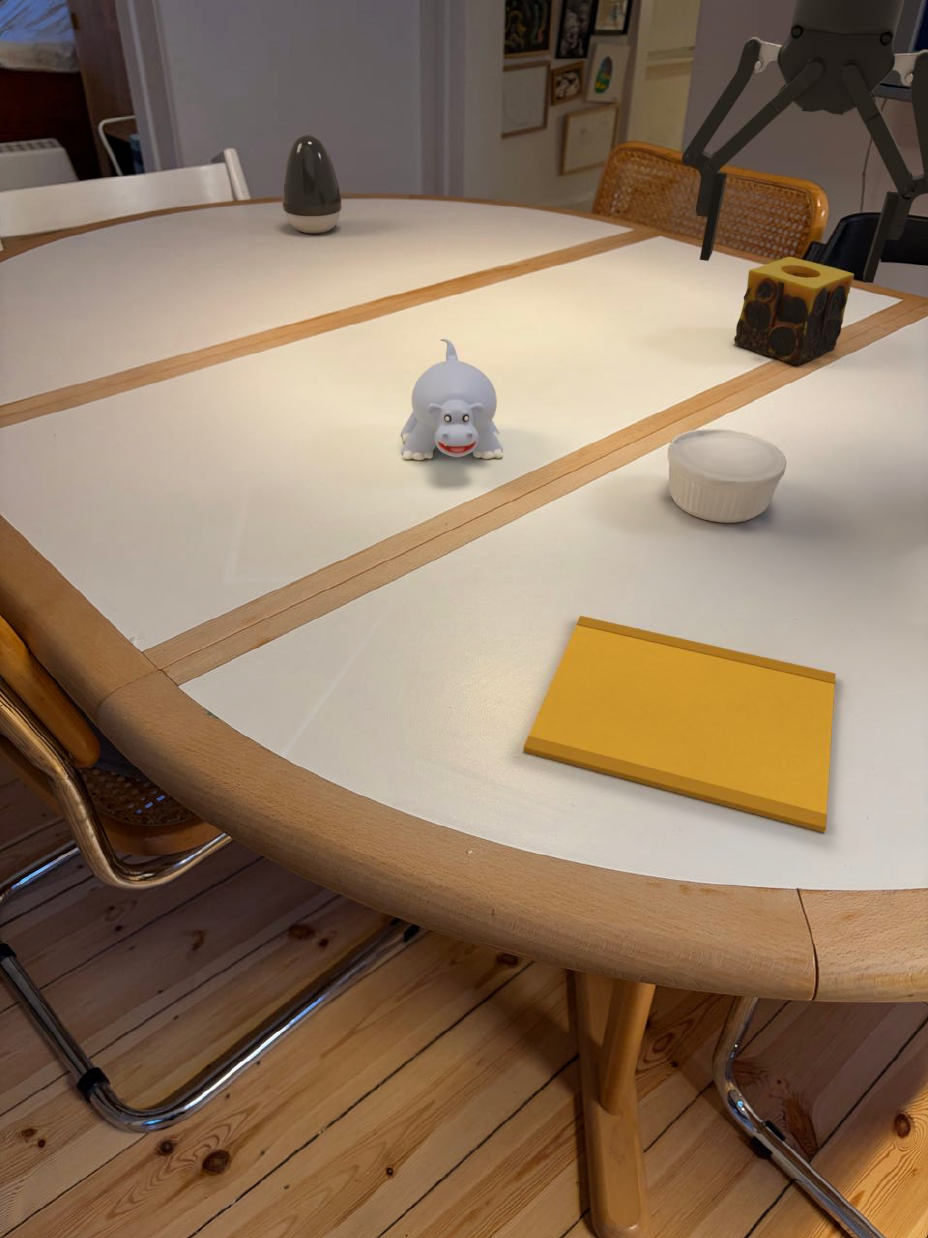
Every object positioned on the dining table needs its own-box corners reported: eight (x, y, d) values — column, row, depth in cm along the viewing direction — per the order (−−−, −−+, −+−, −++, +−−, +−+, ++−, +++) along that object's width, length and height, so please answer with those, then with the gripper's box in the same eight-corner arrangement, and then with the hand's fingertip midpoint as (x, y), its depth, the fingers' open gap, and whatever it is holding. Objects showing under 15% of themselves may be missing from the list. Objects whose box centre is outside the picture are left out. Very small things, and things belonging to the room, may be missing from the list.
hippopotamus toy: (403, 486, 93) (401, 397, 87) (400, 420, 105) (398, 337, 99) (510, 484, 94) (515, 396, 88) (495, 419, 106) (498, 337, 100)
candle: (796, 367, 120) (816, 289, 114) (730, 345, 126) (745, 269, 119) (837, 349, 125) (858, 273, 119) (772, 327, 131) (789, 254, 125)
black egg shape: (344, 221, 170) (339, 128, 161) (341, 237, 162) (336, 140, 152) (287, 221, 169) (279, 127, 160) (282, 237, 161) (273, 140, 152)
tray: (834, 678, 71) (835, 673, 71) (824, 833, 59) (826, 827, 59) (579, 620, 76) (580, 615, 76) (522, 751, 64) (523, 746, 64)
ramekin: (712, 463, 99) (722, 416, 95) (799, 508, 92) (812, 459, 88) (636, 492, 93) (644, 445, 90) (722, 543, 86) (733, 493, 83)
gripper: (1039, -26, 67) (937, 274, 80) (692, -46, 73) (649, 236, 86) (1054, -21, 61) (942, 301, 74) (676, -42, 67) (634, 259, 80)
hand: (785, 267), depth 80 cm, fingers open, 13 cm apart
